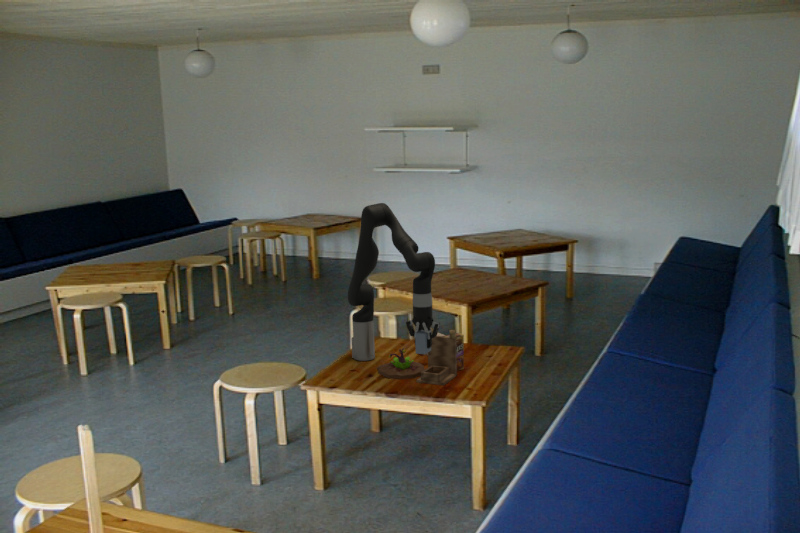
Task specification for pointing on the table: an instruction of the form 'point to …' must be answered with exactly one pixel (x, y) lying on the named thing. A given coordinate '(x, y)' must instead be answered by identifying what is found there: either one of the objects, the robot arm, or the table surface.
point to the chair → (441, 361)
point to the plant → (401, 367)
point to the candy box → (459, 350)
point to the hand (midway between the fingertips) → (423, 347)
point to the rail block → (421, 342)
